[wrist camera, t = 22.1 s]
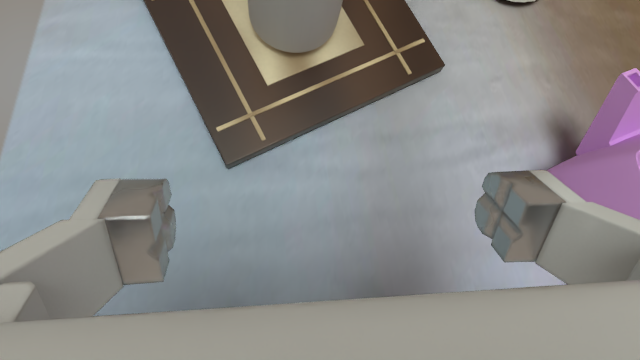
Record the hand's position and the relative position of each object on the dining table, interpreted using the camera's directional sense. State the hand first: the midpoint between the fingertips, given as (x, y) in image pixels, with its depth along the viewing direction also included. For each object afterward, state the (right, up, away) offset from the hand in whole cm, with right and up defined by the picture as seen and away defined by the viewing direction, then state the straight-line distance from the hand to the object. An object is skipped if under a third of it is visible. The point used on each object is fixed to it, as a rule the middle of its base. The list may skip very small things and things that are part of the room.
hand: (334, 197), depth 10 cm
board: (-3, +12, +20) cm, 23 cm away
